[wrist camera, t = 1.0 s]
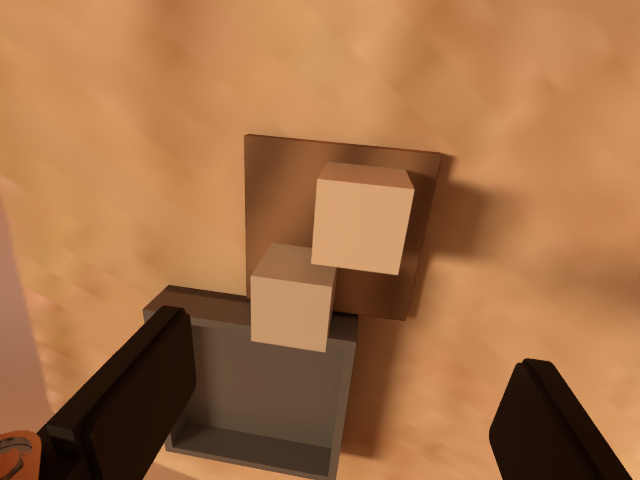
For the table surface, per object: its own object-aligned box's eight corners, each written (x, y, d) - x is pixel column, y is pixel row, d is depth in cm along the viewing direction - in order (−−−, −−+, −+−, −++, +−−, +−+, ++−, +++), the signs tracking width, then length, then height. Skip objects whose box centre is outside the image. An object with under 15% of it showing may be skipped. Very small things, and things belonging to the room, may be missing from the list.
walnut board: (439, 152, 24) (441, 154, 23) (404, 314, 30) (405, 321, 29) (248, 134, 25) (244, 135, 24) (250, 292, 31) (246, 298, 30)
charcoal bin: (358, 312, 30) (356, 342, 27) (338, 445, 37) (335, 483, 34) (168, 285, 32) (142, 309, 28) (184, 417, 39) (166, 450, 36)
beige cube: (339, 251, 27) (332, 287, 22) (332, 308, 29) (325, 352, 24) (272, 242, 27) (250, 275, 22) (271, 299, 30) (251, 340, 25)
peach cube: (405, 169, 24) (414, 189, 19) (392, 240, 26) (397, 275, 21) (328, 161, 24) (317, 178, 19) (322, 231, 26) (311, 263, 21)
